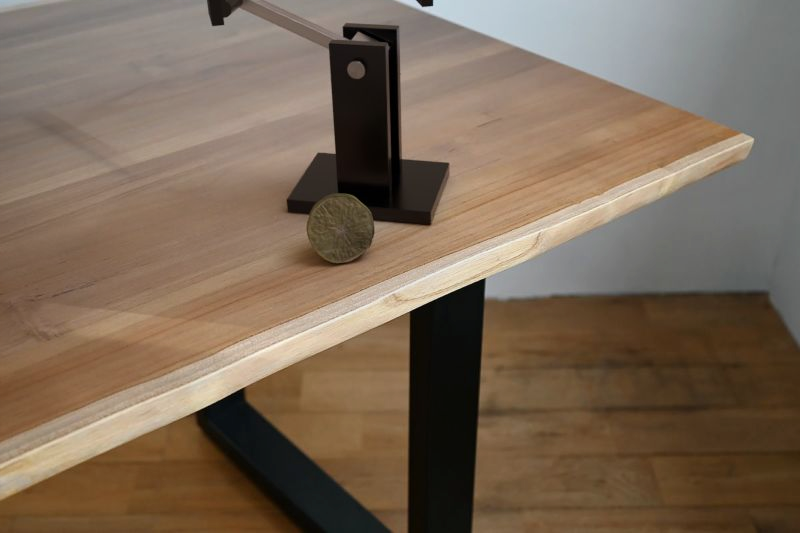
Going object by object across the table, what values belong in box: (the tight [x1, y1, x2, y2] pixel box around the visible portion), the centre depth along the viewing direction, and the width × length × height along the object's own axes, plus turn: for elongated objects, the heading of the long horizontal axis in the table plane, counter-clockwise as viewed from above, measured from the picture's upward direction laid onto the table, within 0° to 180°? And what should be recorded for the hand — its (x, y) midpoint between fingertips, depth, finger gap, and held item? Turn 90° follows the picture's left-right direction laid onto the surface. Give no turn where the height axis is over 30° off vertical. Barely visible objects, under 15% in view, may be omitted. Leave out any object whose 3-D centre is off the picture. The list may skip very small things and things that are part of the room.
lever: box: [222, 0, 390, 51], centre depth 71 cm, size 13×6×2 cm, turn 78°
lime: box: [305, 193, 376, 264], centre depth 68 cm, size 4×5×5 cm
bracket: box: [286, 22, 450, 226], centre depth 74 cm, size 12×9×14 cm
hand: (321, 10), depth 59 cm, fingers open, 13 cm apart
